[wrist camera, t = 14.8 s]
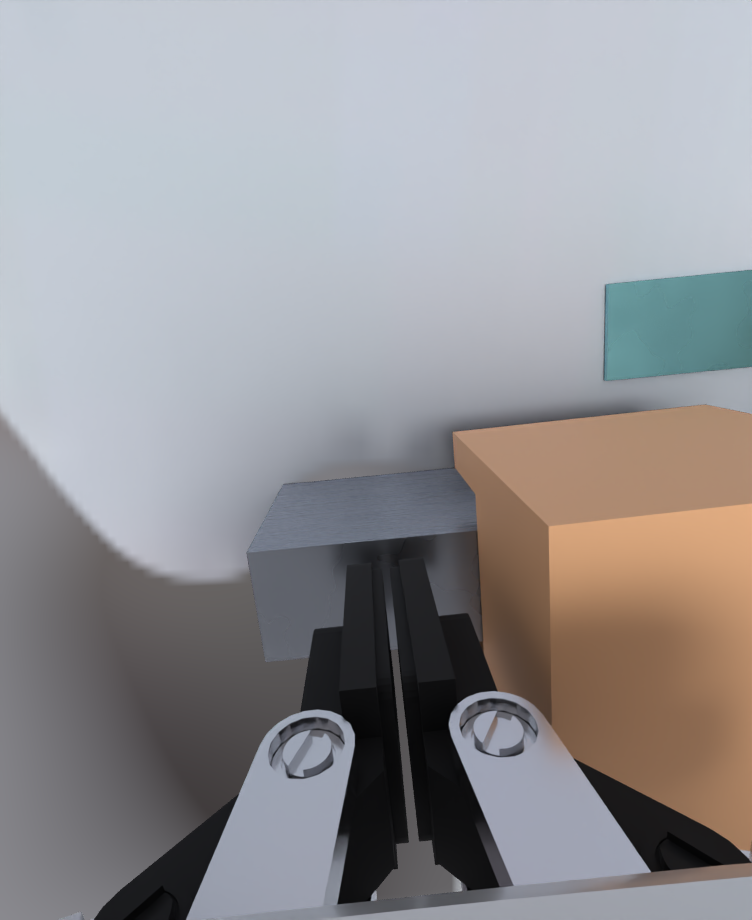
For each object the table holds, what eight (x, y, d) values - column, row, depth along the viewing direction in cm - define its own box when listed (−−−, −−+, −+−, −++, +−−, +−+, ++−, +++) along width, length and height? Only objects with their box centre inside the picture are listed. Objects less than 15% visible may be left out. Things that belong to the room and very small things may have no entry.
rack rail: (849, 536, 18) (1208, 688, 10) (298, 589, 18) (249, 779, 11) (891, 256, 16) (1395, 184, 8) (258, 318, 16) (157, 307, 8)
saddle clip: (692, 611, 15) (952, 825, 9) (465, 638, 15) (554, 876, 9) (705, 404, 14) (1035, 471, 7) (452, 432, 14) (548, 526, 7)
